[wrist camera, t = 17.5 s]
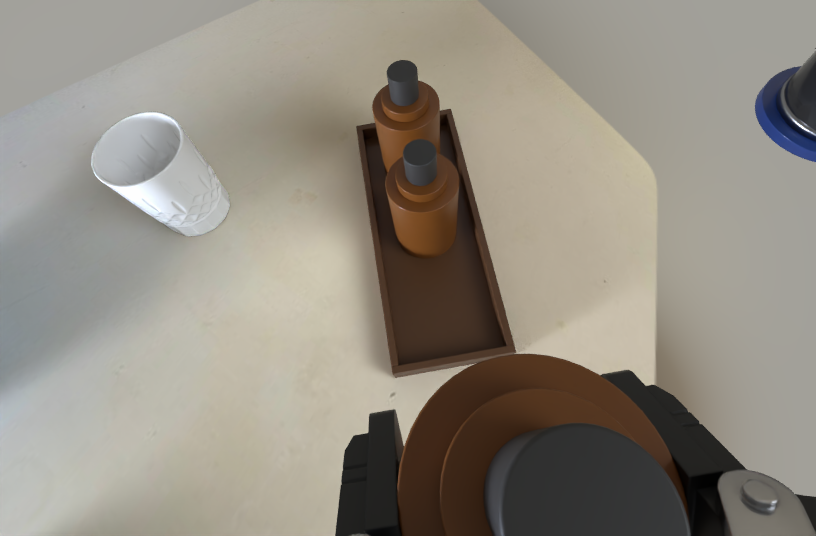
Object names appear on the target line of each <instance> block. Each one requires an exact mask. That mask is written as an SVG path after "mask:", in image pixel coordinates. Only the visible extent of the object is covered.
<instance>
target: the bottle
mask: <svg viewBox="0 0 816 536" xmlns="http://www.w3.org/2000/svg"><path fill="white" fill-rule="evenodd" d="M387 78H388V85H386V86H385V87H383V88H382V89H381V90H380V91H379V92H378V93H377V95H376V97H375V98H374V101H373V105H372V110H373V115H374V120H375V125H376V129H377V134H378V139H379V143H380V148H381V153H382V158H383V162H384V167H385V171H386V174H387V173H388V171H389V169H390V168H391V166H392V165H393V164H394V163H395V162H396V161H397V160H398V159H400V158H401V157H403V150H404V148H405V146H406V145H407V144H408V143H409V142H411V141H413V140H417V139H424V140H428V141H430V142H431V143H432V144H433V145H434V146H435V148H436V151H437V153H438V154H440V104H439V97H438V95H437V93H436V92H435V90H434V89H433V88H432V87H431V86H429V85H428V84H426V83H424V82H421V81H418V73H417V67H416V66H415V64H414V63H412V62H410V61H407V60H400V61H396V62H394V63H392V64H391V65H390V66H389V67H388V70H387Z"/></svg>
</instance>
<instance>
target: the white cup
mask: <svg viewBox="0 0 816 536" xmlns="http://www.w3.org/2000/svg"><path fill="white" fill-rule="evenodd" d="M91 164H92V169H93V172H94V174H95V175H96V177H97V178H98V179H99V180H100V181H101V182H103V183H104V184H106V185H107V186H109V187H110V188H111V189H113V190H114V191H116V192H117V193H119V194H120V195H121V196H123V197H124V198H126V199H127V200H128V201H130V202H131V203H133V204H134V205H135V206H137V207H138V208H140V209H141V210H143V211H144V212H146V213H147V214H149V215H151V216H152V217H153V218H155V219H156V220H158V221H160V222H161V223H163V224H165V225H166V226H168V227H169V228H171V229H172V230H173V231H175V232H177V233H180V234H182V235H185V236H199V235H203V234H205V233H207V232H209V231H211V230H213V229H215V228H216V227H217V226H218V225H219V224H220V223H221V222H222V221H223V220H224V219H225V218H226V215H227V213H228V210H229V207H230V200H229V194H228V192H227V191H226V189H225V188H224V187H223V185H222V184H221V183H220V181H219V180H218V178H217V177H216V175H215V173H214V171H213V170H212V168H211V167H210V165H209V164H208V162H207V161H206V160H205V158H204V157H203V155H202V154H201V153H200V151H199V150H198V149H197V147H196V146H195V145H194V143H193V142H192V141H191V139H190V138H189V137H188V135H187V134H186V132H185V131H184V130H183V128H182V127H181V126H180V124H179V123H178V122H177V121H176V120H175V119H174V118H173V117H171V116H169V115H167V114H164V113H160V112H142V113H137V114H134V115H131V116H128V117H126V118H124V119H122V120H120V121H118V122H117V123H115V124H114V125H113V126H111V127H110V128H109V129H108V130H107V131H106V132H105V133H104V134H103V135H102V136H101V137H100V139H99V140H98V142H97V143H96V145H95V147H94V150H93V153H92V159H91Z"/></svg>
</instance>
